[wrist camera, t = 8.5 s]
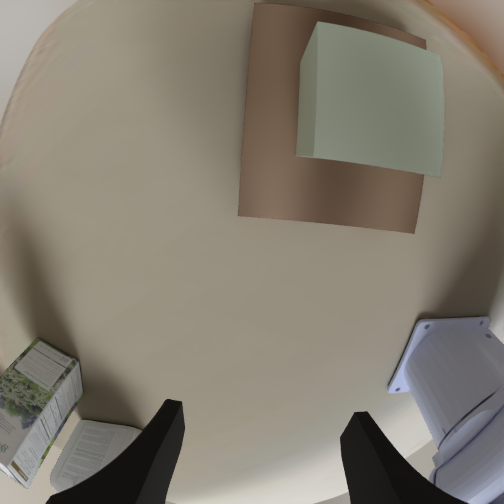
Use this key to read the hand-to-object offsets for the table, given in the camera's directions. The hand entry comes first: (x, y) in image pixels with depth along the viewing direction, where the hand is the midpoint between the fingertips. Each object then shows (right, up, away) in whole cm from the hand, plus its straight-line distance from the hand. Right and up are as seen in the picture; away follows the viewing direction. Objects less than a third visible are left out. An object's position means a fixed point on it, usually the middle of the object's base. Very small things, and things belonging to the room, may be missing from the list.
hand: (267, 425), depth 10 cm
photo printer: (-17, -14, +16) cm, 27 cm away
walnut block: (+4, +15, +5) cm, 17 cm away
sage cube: (+4, +14, +2) cm, 15 cm away
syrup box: (-21, -5, +13) cm, 25 cm away
